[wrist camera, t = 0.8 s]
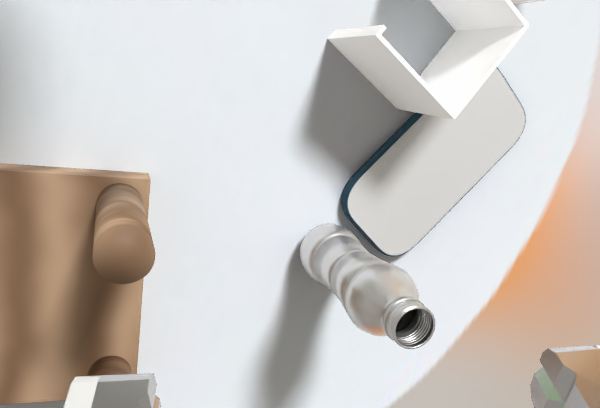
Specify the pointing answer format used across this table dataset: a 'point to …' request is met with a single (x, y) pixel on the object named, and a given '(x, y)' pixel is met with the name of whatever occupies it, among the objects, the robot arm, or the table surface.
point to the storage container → (438, 56)
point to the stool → (69, 276)
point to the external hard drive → (431, 167)
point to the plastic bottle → (367, 286)
